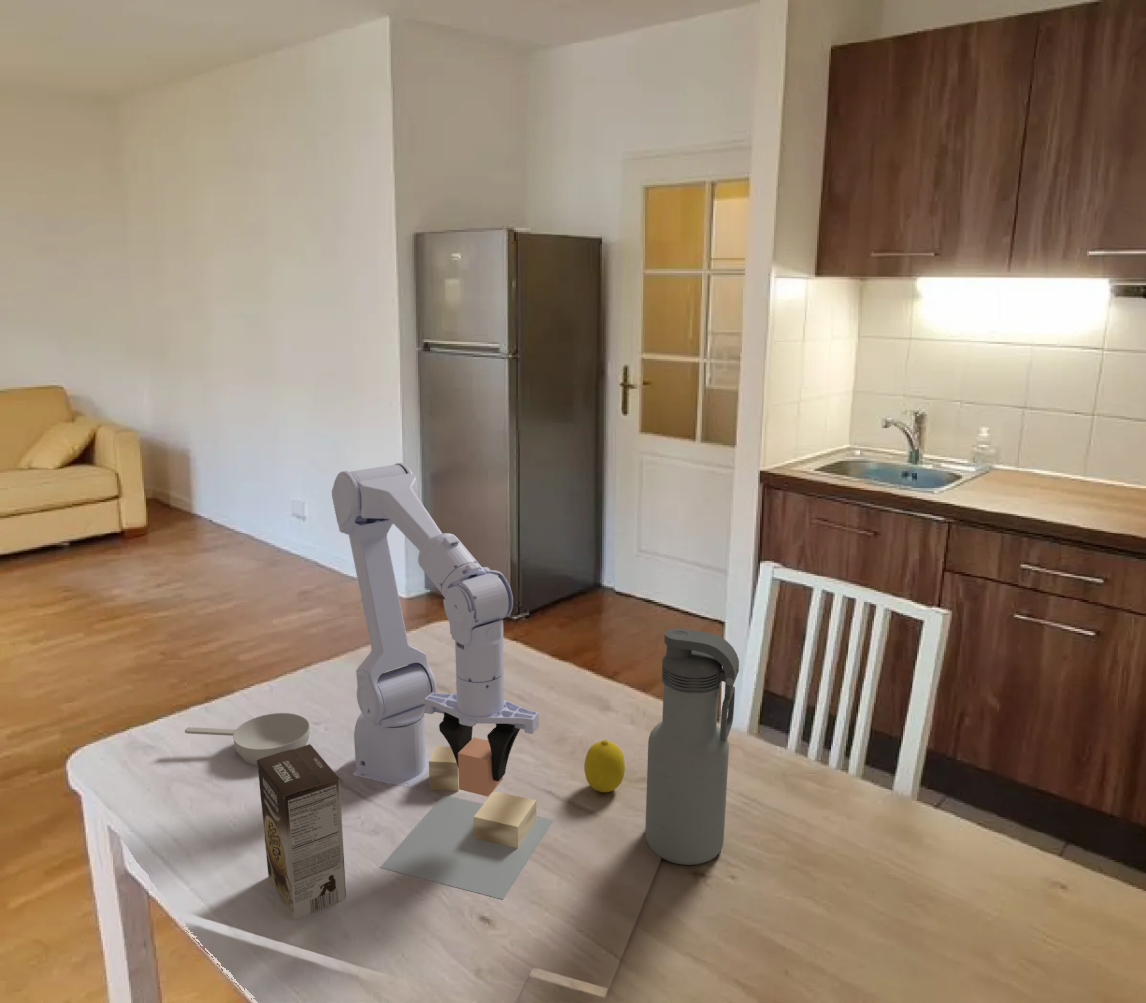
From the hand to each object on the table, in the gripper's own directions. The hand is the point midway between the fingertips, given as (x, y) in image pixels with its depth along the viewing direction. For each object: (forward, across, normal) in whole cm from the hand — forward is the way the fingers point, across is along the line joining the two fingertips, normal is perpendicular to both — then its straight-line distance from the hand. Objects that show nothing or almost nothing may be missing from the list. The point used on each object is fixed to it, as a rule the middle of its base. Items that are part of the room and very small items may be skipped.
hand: (482, 773), depth 109 cm
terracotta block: (+1, 0, 0) cm, 1 cm away
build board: (+9, -1, -2) cm, 9 cm away
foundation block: (+9, +2, +2) cm, 9 cm away
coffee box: (+9, -14, -16) cm, 24 cm away
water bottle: (+10, +24, +8) cm, 27 cm away
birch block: (+9, -10, +9) cm, 16 cm away
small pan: (+9, -42, +6) cm, 43 cm away
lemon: (+9, +11, +15) cm, 21 cm away
